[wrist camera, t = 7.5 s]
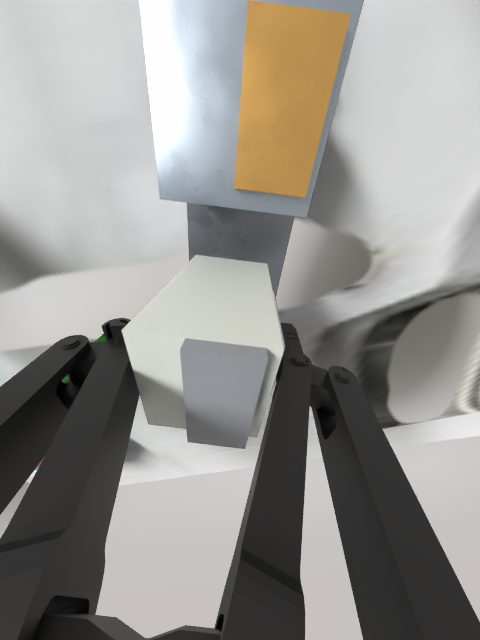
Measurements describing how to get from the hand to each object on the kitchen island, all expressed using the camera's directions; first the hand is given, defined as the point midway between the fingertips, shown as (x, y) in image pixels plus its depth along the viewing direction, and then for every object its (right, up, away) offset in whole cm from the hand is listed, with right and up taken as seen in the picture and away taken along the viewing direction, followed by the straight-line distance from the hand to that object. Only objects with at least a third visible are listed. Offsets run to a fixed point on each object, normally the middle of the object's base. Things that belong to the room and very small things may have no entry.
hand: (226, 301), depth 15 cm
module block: (0, +1, +1) cm, 1 cm away
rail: (+1, +5, +8) cm, 10 cm away
